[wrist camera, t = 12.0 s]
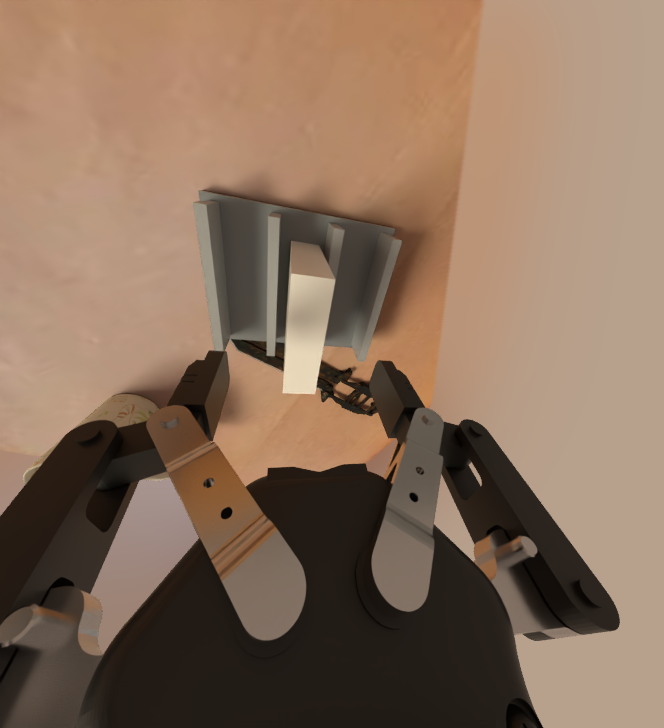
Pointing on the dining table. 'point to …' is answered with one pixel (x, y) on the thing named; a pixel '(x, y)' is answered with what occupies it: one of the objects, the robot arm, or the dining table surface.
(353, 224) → the dish rack
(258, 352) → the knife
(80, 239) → the dining table surface
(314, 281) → the cream rectangular block
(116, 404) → the mug
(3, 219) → the dining table surface
